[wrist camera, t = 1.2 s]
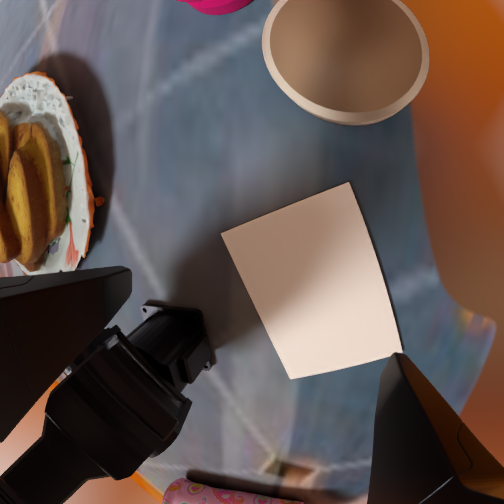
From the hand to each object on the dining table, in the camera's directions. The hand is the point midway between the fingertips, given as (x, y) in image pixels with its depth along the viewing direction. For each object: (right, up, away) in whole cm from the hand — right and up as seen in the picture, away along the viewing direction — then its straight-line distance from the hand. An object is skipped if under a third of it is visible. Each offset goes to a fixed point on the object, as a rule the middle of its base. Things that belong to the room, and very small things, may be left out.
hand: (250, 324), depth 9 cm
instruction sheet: (+5, -1, +13) cm, 14 cm away
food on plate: (-25, +11, +20) cm, 34 cm away
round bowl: (+6, +15, +7) cm, 18 cm away
